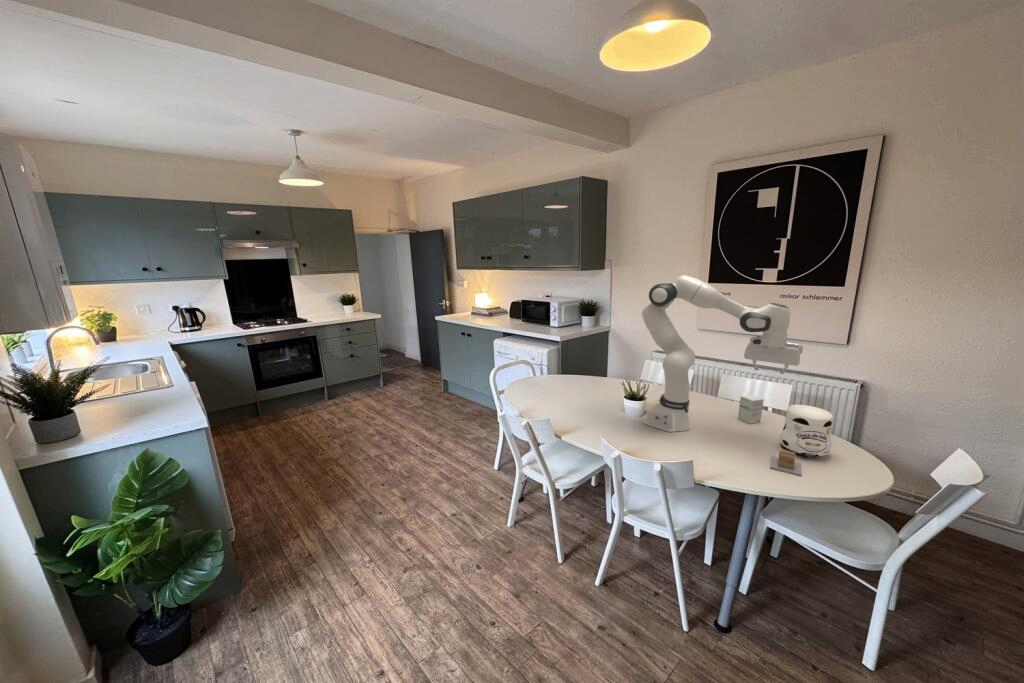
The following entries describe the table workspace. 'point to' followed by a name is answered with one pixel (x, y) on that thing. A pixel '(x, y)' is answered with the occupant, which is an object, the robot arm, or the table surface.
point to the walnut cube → (786, 459)
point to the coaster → (794, 471)
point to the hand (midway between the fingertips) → (768, 371)
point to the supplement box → (750, 408)
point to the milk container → (807, 430)
